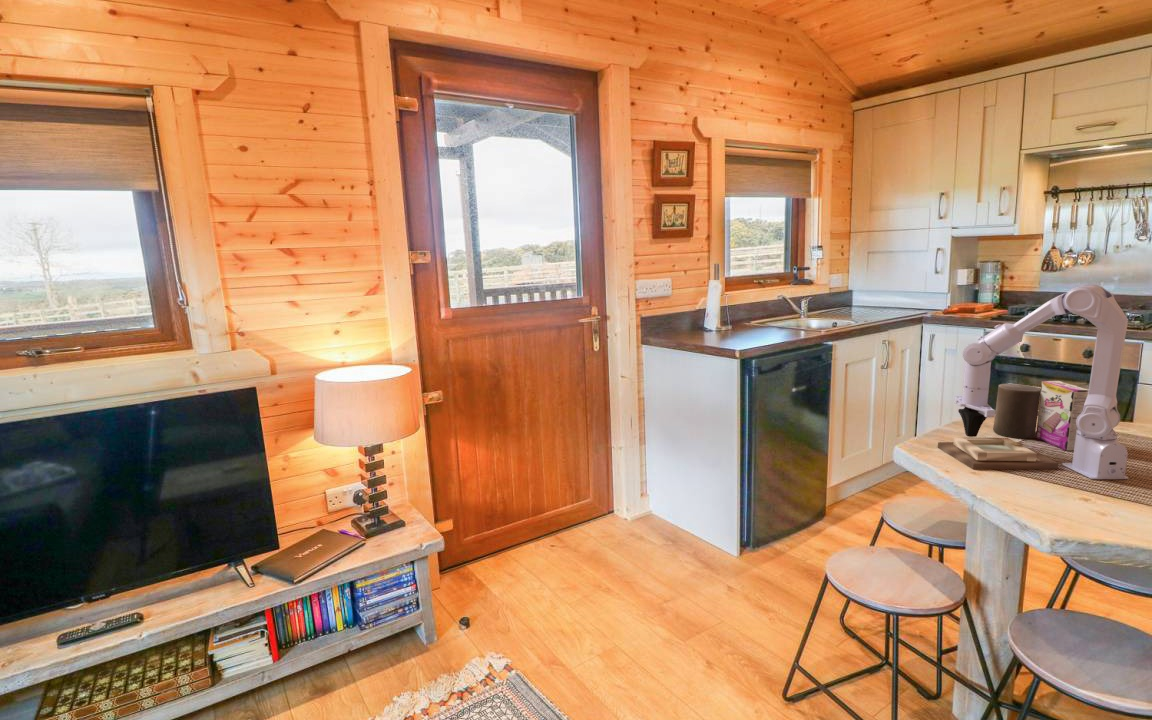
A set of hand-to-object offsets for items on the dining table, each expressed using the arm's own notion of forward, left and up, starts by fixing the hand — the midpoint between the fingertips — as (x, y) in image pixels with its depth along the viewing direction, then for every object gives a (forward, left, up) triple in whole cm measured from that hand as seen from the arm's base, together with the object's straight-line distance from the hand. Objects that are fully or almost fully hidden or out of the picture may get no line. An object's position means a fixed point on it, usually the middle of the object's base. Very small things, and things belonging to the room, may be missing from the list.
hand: (971, 436), depth 158 cm
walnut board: (-9, -1, -3) cm, 9 cm away
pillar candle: (+11, -18, -3) cm, 21 cm away
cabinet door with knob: (-10, 0, -1) cm, 10 cm away
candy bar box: (+1, -23, -3) cm, 24 cm away
